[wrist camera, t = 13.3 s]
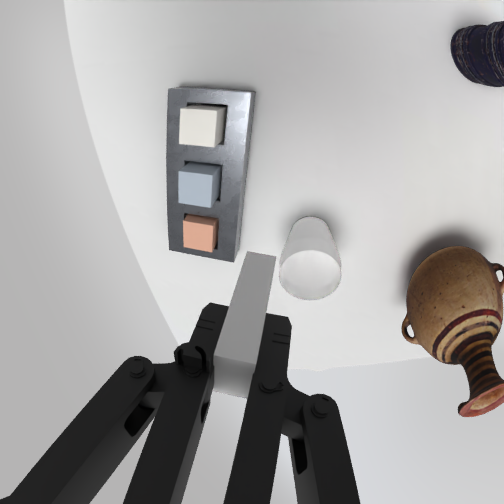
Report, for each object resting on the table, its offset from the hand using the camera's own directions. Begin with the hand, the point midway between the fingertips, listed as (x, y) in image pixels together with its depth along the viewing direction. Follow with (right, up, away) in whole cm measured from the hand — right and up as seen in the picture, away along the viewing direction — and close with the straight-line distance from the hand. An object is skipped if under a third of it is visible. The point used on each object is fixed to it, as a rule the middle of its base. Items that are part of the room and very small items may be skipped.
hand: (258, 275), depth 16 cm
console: (-7, +14, +32) cm, 35 cm away
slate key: (-8, +13, +29) cm, 33 cm away
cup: (+10, +4, +35) cm, 36 cm away
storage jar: (+34, +32, +12) cm, 48 cm away
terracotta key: (-8, +6, +36) cm, 37 cm away
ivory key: (-7, +20, +24) cm, 32 cm away
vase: (+36, -2, +34) cm, 49 cm away
